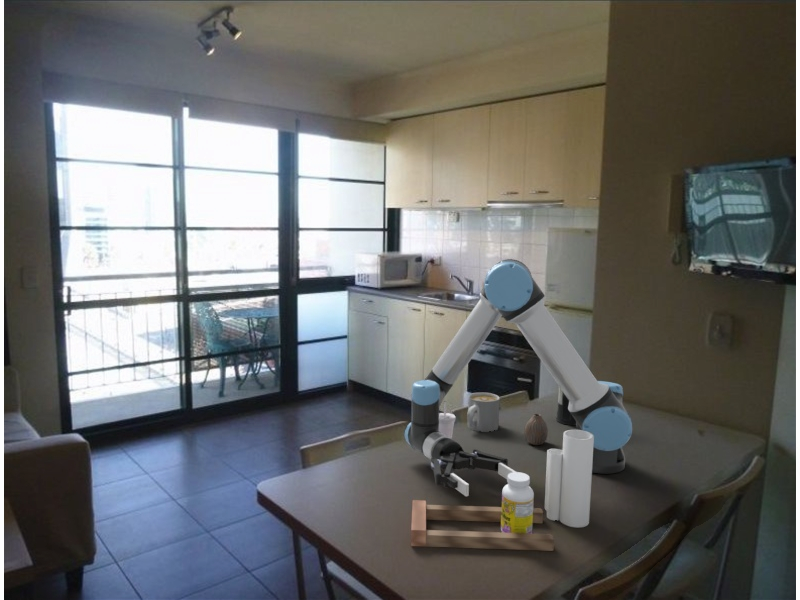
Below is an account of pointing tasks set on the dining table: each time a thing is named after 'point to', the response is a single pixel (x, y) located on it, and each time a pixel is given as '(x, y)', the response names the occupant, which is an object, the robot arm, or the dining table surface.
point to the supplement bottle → (517, 504)
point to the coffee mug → (483, 412)
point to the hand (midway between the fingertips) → (492, 484)
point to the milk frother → (564, 410)
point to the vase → (536, 430)
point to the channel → (470, 538)
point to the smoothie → (446, 422)
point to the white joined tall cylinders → (570, 479)
